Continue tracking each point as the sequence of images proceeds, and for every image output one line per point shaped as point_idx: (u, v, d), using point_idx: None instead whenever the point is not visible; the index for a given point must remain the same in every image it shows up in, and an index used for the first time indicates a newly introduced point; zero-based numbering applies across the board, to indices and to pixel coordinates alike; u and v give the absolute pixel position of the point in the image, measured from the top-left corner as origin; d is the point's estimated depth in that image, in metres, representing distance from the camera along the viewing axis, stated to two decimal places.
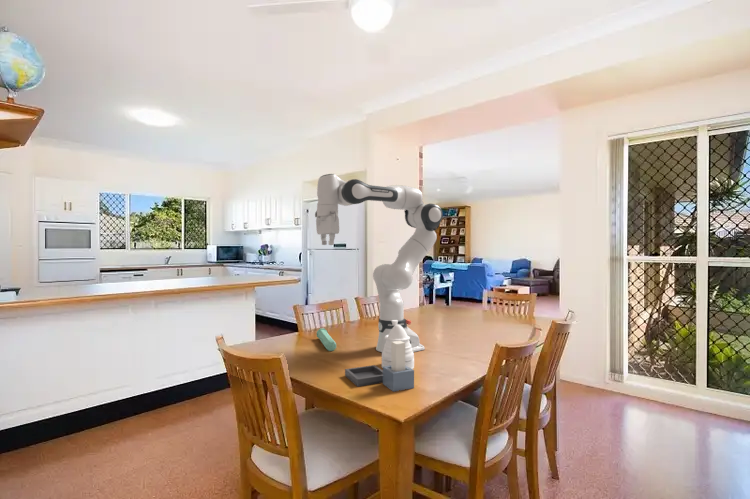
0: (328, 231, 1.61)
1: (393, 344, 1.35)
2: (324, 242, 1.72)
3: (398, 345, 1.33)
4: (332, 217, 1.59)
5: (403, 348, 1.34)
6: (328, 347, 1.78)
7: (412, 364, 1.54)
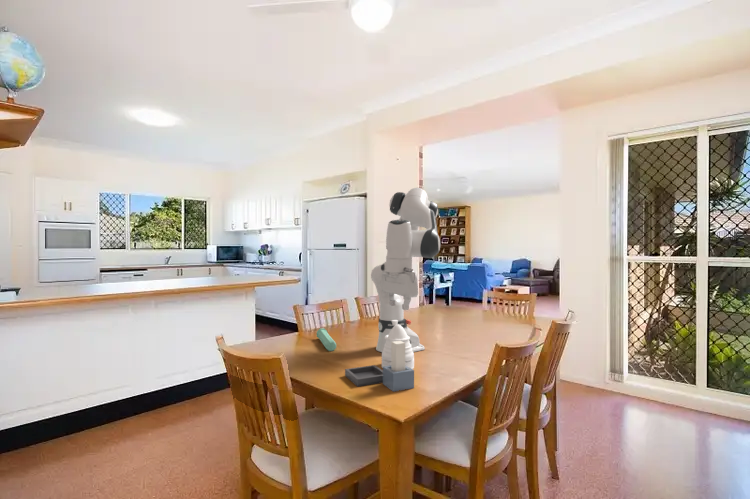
0: (403, 293, 1.28)
1: (393, 344, 1.35)
2: (392, 302, 1.39)
3: (398, 345, 1.33)
4: (409, 277, 1.26)
5: (403, 348, 1.34)
6: (328, 347, 1.78)
7: (412, 364, 1.54)
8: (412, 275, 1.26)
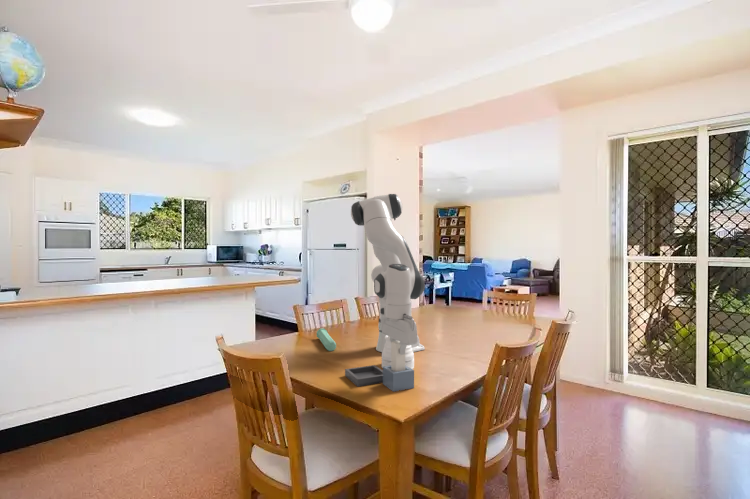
0: (403, 341, 1.28)
1: (393, 344, 1.35)
2: None
3: (398, 345, 1.33)
4: (409, 325, 1.26)
5: None
6: (328, 347, 1.78)
7: (412, 364, 1.54)
8: (411, 323, 1.26)
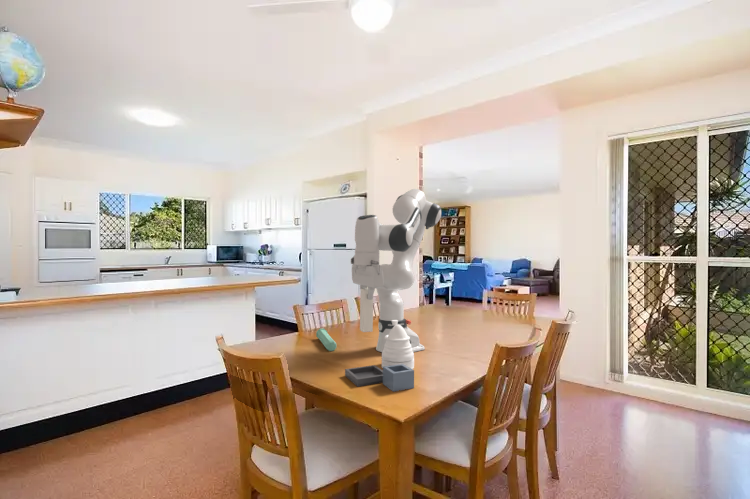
0: (370, 285, 1.35)
1: (362, 290, 1.41)
2: None
3: (366, 291, 1.40)
4: (375, 269, 1.33)
5: None
6: (328, 347, 1.78)
7: (412, 364, 1.54)
8: (377, 267, 1.33)
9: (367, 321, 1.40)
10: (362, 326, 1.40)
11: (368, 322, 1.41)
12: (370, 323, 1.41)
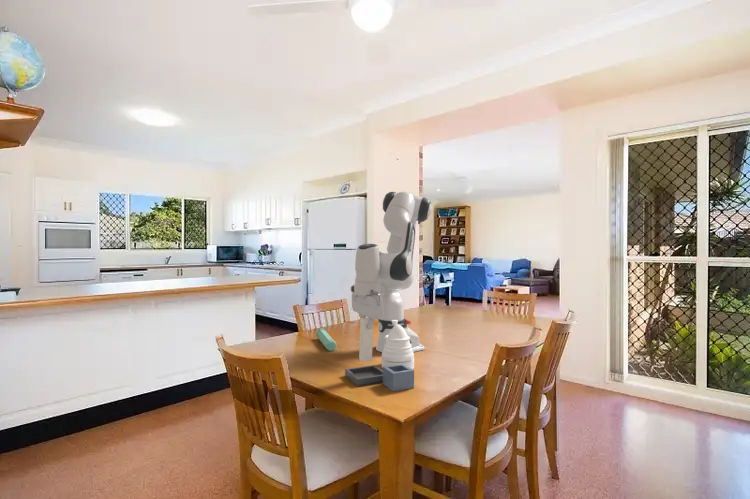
0: (369, 315, 1.35)
1: (361, 320, 1.42)
2: None
3: (365, 321, 1.40)
4: (375, 300, 1.33)
5: None
6: (328, 347, 1.78)
7: (412, 364, 1.54)
8: (377, 298, 1.33)
9: (367, 351, 1.41)
10: (362, 356, 1.41)
11: (368, 351, 1.41)
12: (369, 352, 1.41)
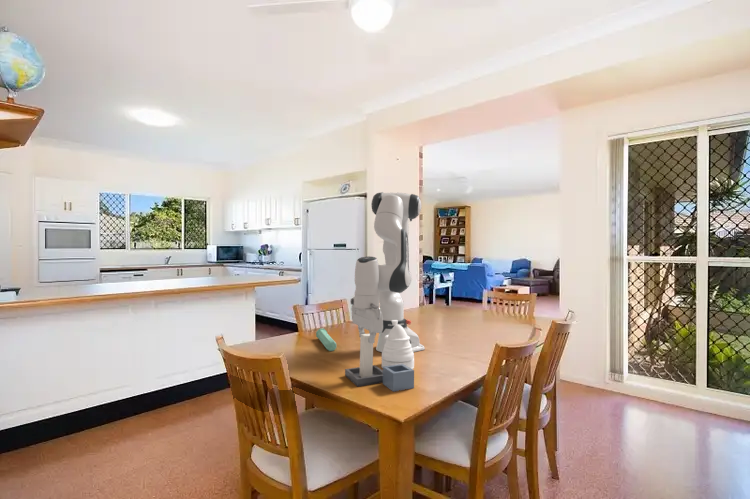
0: (369, 329, 1.35)
1: (362, 336, 1.42)
2: None
3: (366, 338, 1.40)
4: (375, 313, 1.33)
5: None
6: (328, 347, 1.78)
7: (412, 364, 1.54)
8: (377, 312, 1.33)
9: (367, 367, 1.41)
10: (362, 373, 1.41)
11: (368, 368, 1.41)
12: (370, 369, 1.41)
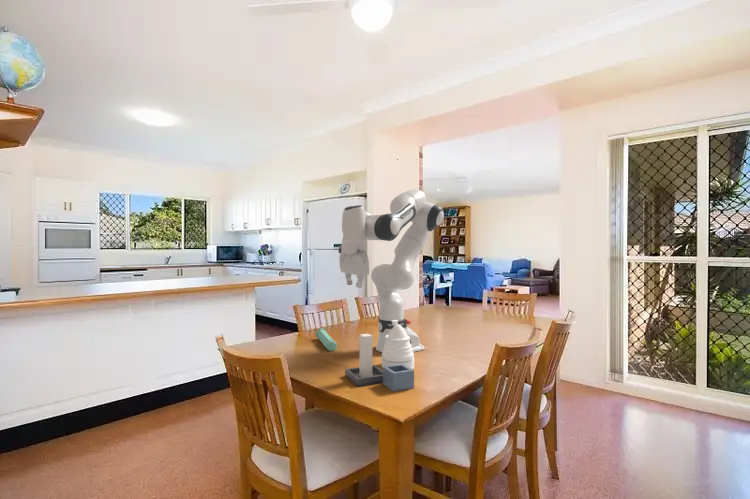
0: (356, 272, 1.40)
1: (361, 337, 1.42)
2: (349, 282, 1.51)
3: (365, 338, 1.40)
4: (361, 257, 1.38)
5: (370, 341, 1.41)
6: (328, 347, 1.78)
7: (412, 364, 1.54)
8: (363, 255, 1.38)
9: (367, 367, 1.41)
10: (362, 373, 1.41)
11: (368, 368, 1.41)
12: (370, 369, 1.41)
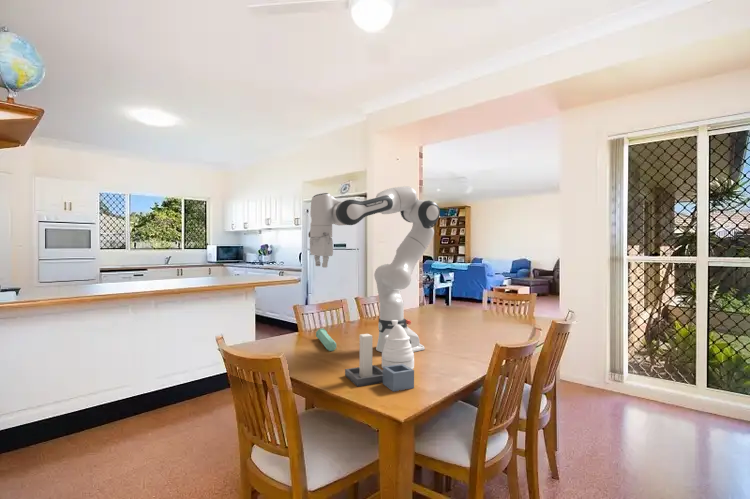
0: (321, 253, 1.55)
1: (361, 337, 1.42)
2: (318, 263, 1.65)
3: (365, 338, 1.40)
4: (325, 239, 1.53)
5: (370, 341, 1.41)
6: (328, 347, 1.78)
7: (412, 364, 1.54)
8: (327, 237, 1.52)
9: (367, 367, 1.41)
10: (362, 373, 1.41)
11: (368, 368, 1.41)
12: (370, 369, 1.41)
